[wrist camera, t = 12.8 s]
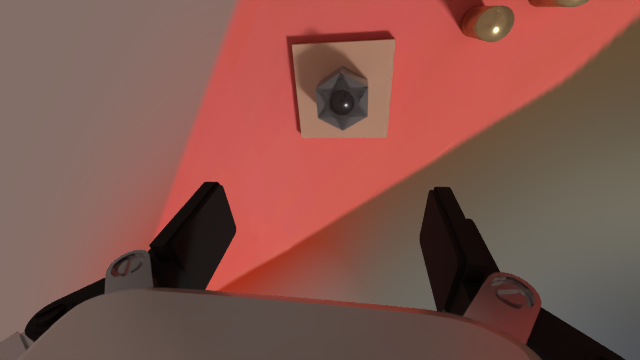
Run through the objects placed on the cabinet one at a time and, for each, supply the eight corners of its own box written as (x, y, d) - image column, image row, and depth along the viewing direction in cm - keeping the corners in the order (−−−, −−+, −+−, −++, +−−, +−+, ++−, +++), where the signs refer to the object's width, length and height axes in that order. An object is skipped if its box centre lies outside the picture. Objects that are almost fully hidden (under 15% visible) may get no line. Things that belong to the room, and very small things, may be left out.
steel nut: (318, 67, 27) (313, 73, 24) (367, 64, 26) (368, 70, 24) (322, 121, 30) (318, 131, 27) (366, 119, 29) (367, 130, 27)
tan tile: (293, 43, 27) (291, 44, 26) (394, 38, 25) (395, 39, 25) (302, 135, 32) (301, 137, 31) (386, 134, 31) (386, 137, 30)
